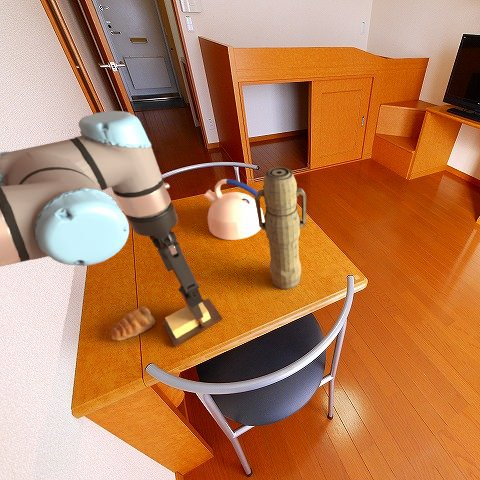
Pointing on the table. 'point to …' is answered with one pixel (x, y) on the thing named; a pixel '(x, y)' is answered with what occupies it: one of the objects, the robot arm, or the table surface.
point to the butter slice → (204, 313)
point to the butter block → (181, 321)
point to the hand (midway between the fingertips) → (184, 285)
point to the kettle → (232, 212)
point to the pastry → (133, 324)
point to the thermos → (282, 225)
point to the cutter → (194, 310)
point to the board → (188, 335)
